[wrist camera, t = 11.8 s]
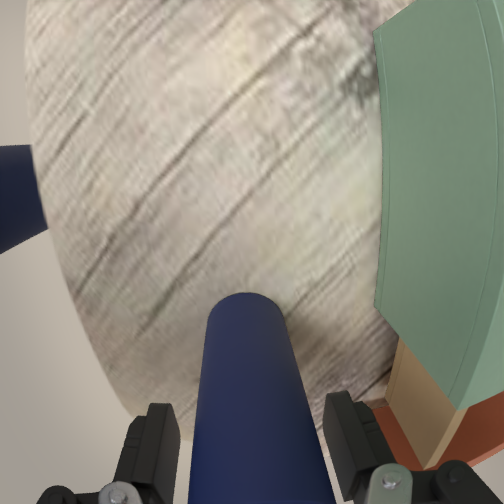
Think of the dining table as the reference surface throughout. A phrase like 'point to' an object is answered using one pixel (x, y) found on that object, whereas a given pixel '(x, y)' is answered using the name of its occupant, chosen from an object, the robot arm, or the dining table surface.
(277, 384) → the blue cylinder
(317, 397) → the dining table surface
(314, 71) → the dining table surface
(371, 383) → the dining table surface
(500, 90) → the cabinet
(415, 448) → the drawer
